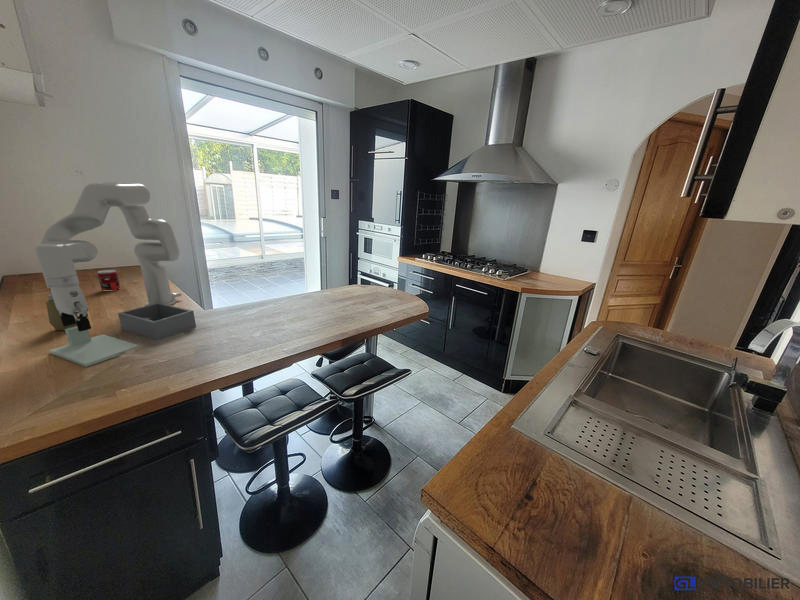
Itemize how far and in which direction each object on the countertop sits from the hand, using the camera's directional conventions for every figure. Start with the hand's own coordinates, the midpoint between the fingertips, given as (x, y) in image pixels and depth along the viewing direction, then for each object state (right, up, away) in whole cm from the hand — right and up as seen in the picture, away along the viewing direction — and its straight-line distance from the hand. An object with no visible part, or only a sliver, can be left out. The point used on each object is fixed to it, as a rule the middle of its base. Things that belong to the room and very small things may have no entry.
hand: (77, 327), depth 109 cm
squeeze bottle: (-21, -2, +16) cm, 26 cm away
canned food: (-52, +15, +68) cm, 87 cm away
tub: (+16, -3, +17) cm, 24 cm away
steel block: (+11, -2, +16) cm, 19 cm away
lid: (+8, -8, -1) cm, 12 cm away
